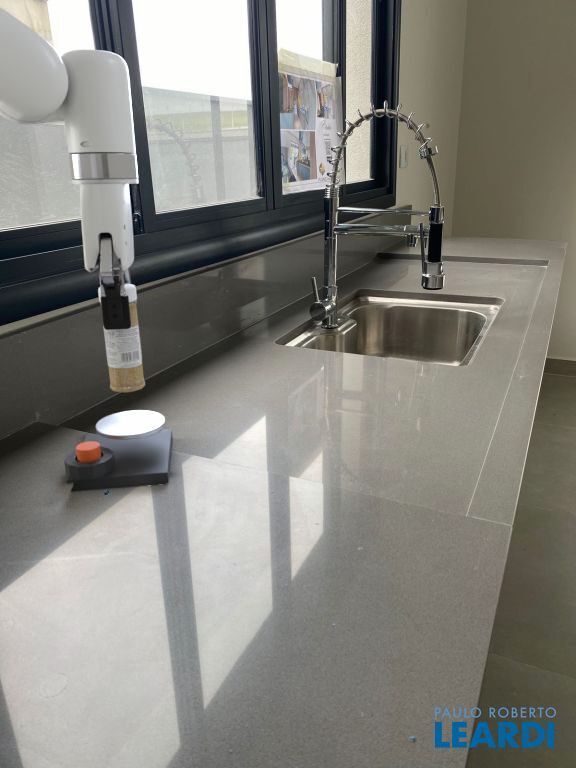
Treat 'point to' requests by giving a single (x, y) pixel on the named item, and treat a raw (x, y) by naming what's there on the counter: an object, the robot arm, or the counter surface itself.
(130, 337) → the spice jar
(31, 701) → the counter surface
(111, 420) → the weighing pan
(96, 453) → the tare button
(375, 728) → the counter surface
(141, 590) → the counter surface
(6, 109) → the robot arm
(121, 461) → the scale
